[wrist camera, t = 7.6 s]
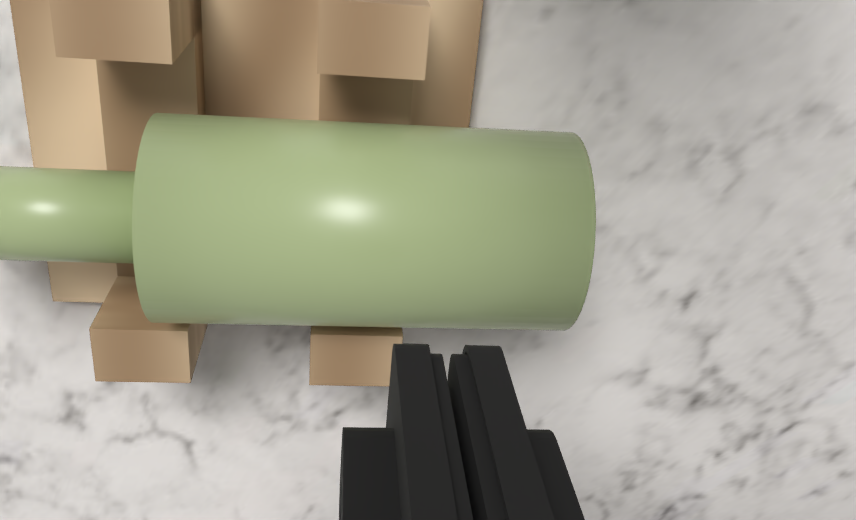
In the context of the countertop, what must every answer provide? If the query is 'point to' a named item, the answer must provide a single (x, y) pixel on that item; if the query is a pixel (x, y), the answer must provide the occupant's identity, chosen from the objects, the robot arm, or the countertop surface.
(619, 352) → the countertop surface
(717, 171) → the countertop surface
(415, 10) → the rest
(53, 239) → the bottle
